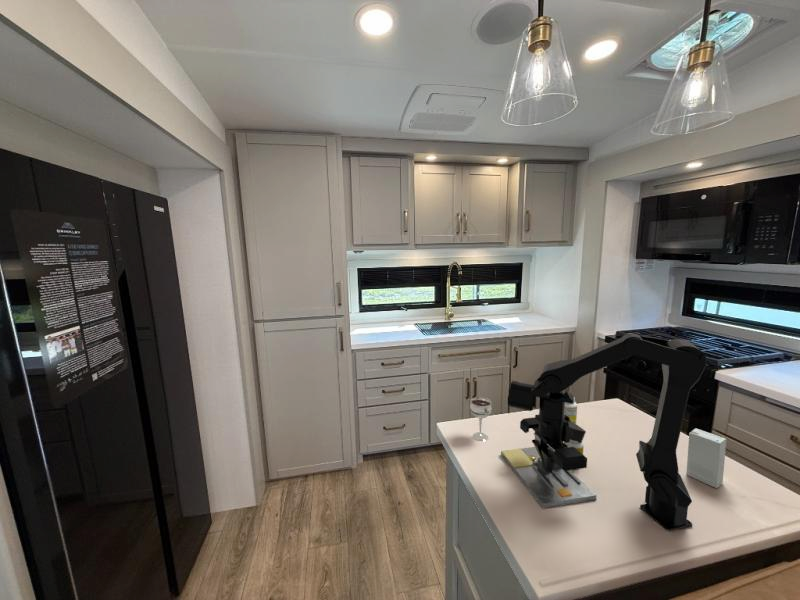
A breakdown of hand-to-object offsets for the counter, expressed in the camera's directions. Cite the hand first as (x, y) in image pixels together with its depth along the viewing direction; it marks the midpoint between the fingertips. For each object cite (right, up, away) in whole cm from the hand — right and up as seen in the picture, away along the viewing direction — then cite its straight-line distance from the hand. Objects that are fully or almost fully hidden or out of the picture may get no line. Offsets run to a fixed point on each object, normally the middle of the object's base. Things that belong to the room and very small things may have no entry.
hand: (548, 471), depth 80 cm
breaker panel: (0, -2, +2) cm, 3 cm away
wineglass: (-12, 0, +21) cm, 24 cm away
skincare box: (+40, -2, 0) cm, 40 cm away
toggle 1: (0, -1, +2) cm, 3 cm away
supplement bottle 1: (+19, +1, +27) cm, 33 cm away
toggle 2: (+4, -1, +4) cm, 5 cm away
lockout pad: (-5, -1, +8) cm, 9 cm away
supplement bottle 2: (+10, -2, +7) cm, 13 cm away
